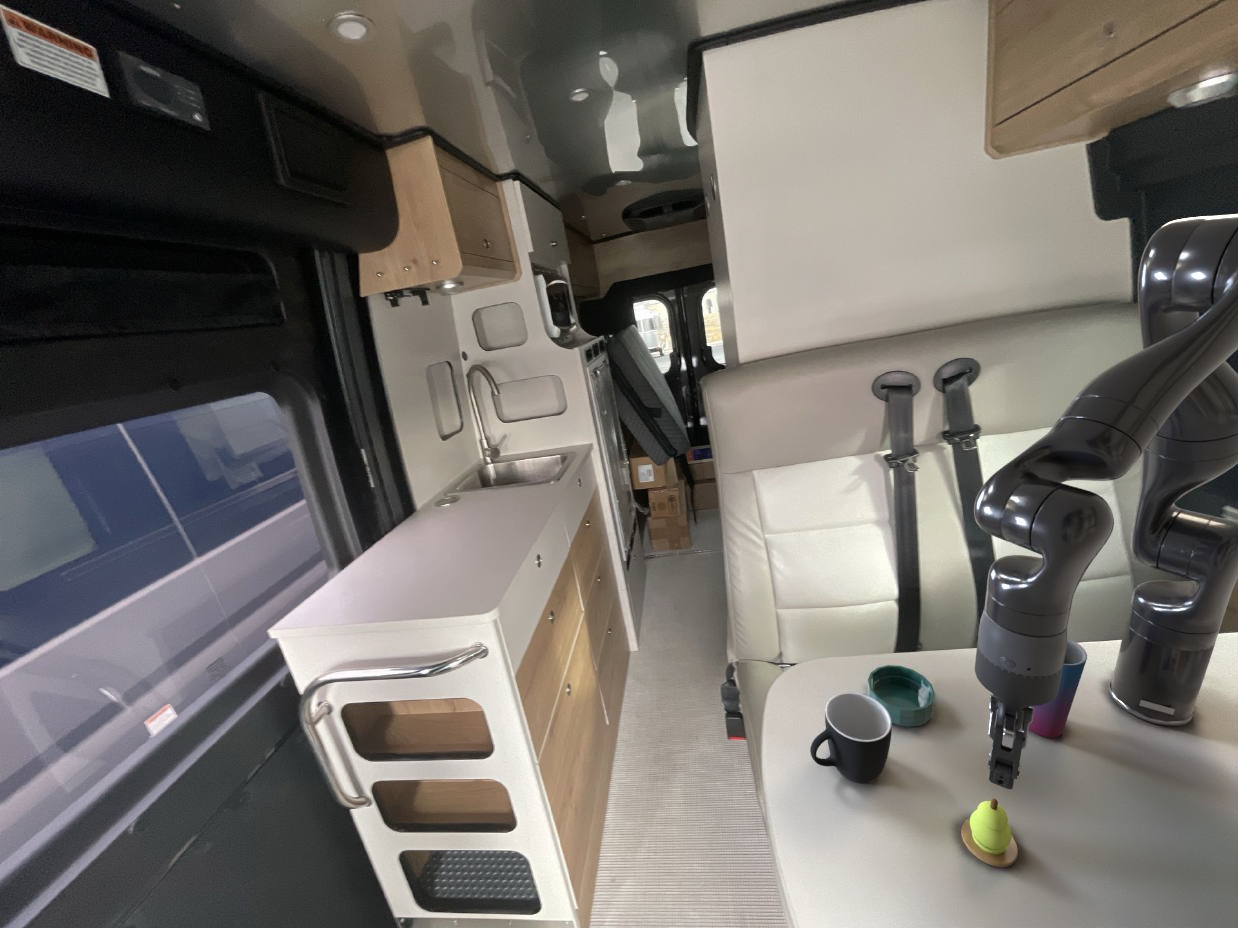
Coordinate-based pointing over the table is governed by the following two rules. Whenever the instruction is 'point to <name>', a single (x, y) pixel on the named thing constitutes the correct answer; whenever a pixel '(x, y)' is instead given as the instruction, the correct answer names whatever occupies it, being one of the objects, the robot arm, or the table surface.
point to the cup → (1061, 695)
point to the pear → (990, 827)
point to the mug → (855, 736)
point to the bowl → (902, 694)
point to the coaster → (992, 859)
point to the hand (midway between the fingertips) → (1003, 754)
